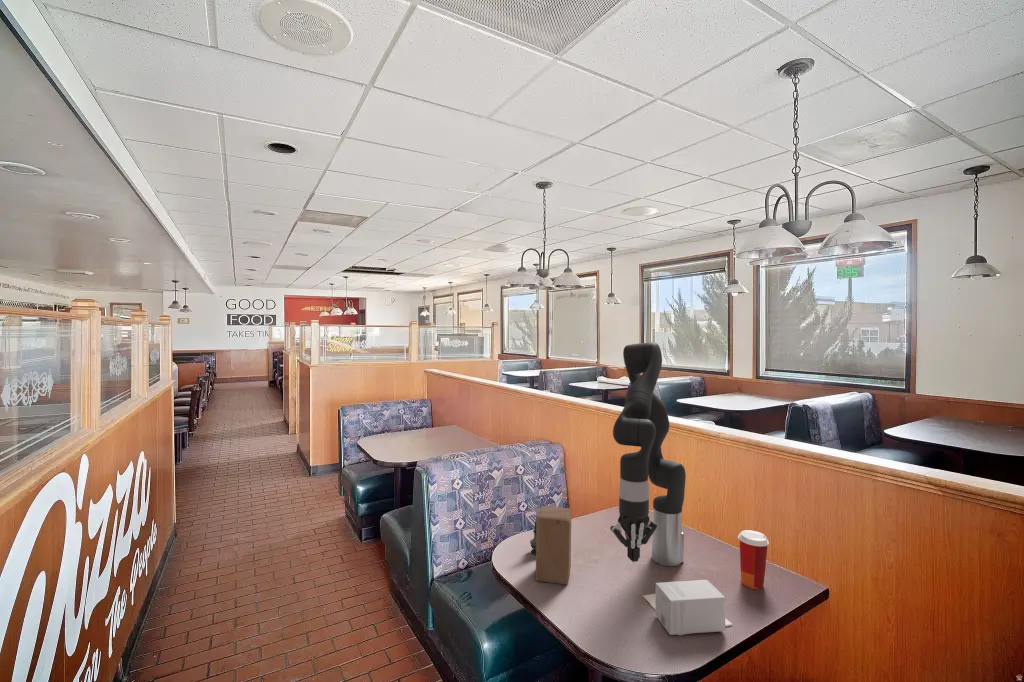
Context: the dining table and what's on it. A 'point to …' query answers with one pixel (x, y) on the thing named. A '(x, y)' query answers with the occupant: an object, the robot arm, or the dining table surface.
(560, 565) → the wooden block
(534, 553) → the salt shaker
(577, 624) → the dining table surface
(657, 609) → the supplement box
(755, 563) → the coffee cup
